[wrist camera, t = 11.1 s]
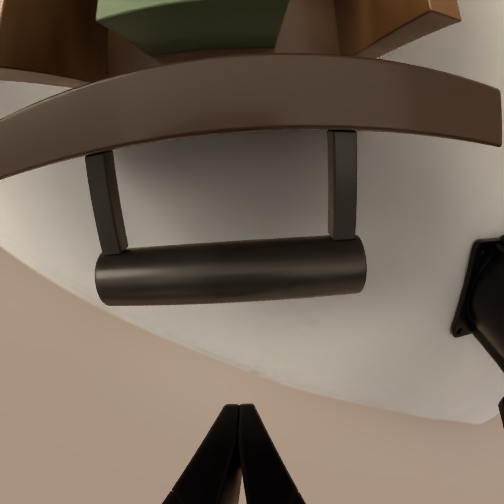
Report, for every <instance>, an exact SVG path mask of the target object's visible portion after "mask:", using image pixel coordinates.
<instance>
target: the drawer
mask: <svg viewBox="0 0 504 504" xmlns="http://www.w3.org/2000/svg"><path fill="white" fill-rule="evenodd" d="M97 3H98V0H0V80H1V81H16V82H28V83H38V84H47V85H55V86H62V87H69V88H73V89H70V90H67V91H64V92H62V93H59V94H56V95H54V96H51V97H49V98H46V99H44V100H41V101H39V102H36V103H34V104H32V105H29V106H27V107H25V108H23V109H21V110H18V111H16V112H14V113H12V114H10V115H8V116H6V117H4V118H2V119H0V180H1V179H4V178H7V177H10V176H14V175H17V174H20V173H23V172H26V171H30V170H33V169H36V168H40V167H43V166H47V165H51V164H54V163H58V162H62V161H66V160H70V159H74V158H78V157H82V156H85V162H86V170H87V177H88V183H89V189H90V195H91V201H92V206H93V211H94V216H95V221H96V226H97V231H98V235H99V240H100V244H101V248H102V253H101V254H100V255H99V257H98V259H97V262H96V267H95V284H96V289H97V292H98V295H99V297H100V299H101V300H102V302H103V303H105V304H106V305H109V306H142V305H186V304H213V303H234V302H253V301H269V300H284V299H297V298H310V297H322V296H333V295H344V294H354V293H359V292H361V291H362V290H363V288H364V285H365V281H366V273H367V264H366V255H365V250H364V246H363V243H362V241H361V239H360V237H359V236H358V235H356V234H355V231H356V207H357V132H356V131H373V132H390V133H403V134H414V135H423V136H432V137H441V138H448V139H455V140H462V141H468V142H474V143H480V144H486V145H491V146H496V147H500V146H501V145H502V112H501V95H500V90H499V89H497V88H494V87H491V86H489V85H486V84H483V83H480V82H477V81H474V80H470V79H467V78H464V77H460V76H457V75H453V74H450V73H446V72H442V71H438V70H434V69H429V68H425V67H420V66H416V65H411V64H405V63H400V62H394V61H388V60H381V59H376V58H378V57H380V56H382V55H384V54H386V53H388V52H390V51H392V50H394V49H396V48H398V47H400V46H403V45H405V44H407V43H409V42H412V41H414V40H416V39H418V38H421V37H423V36H425V35H428V34H430V33H432V32H435V31H437V30H440V29H442V28H445V27H447V26H450V25H453V24H455V23H458V22H461V16H460V11H459V7H458V3H457V0H290V2H289V5H288V8H287V11H286V14H285V17H284V20H283V23H282V27H281V30H280V33H279V36H278V39H277V42H276V45H275V47H273V48H265V47H254V48H223V49H208V50H196V51H187V52H178V53H171V54H164V55H157V56H149V55H148V54H146V53H145V52H143V51H142V50H140V49H139V48H137V47H136V46H134V45H133V44H131V43H130V42H128V41H127V40H125V39H124V38H122V37H121V36H119V35H117V34H116V33H114V32H113V31H111V30H109V29H108V28H106V27H105V26H103V25H101V24H100V23H98V22H96V11H97ZM283 130H328V131H327V142H328V233H329V235H325V236H308V237H290V238H274V239H257V240H242V241H226V242H211V243H196V244H182V245H168V246H154V247H140V248H127V247H128V241H127V236H126V231H125V226H124V221H123V216H122V210H121V204H120V198H119V192H118V185H117V179H116V172H115V164H114V156H113V151H112V150H115V149H120V148H125V147H131V146H136V145H142V144H148V143H155V142H161V141H168V140H175V139H183V138H191V137H199V136H209V135H219V134H230V133H244V132H260V131H283ZM126 248H127V249H126Z"/></svg>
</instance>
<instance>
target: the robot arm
mask: <svg viewBox="0 0 504 504" xmlns="http://www.w3.org/2000/svg"><path fill="white" fill-rule="evenodd" d="M479 248H480V250H479ZM450 332H451V334H452V335H453V336H454V337H461V336H464V335H468V334H473V335H474V336H475V338H476V339H477V340H478V341H479V342H480V344H481V345H482V346H483V347H484V348H485V350H486V351H487V352H488V353H489V355H490V356H491V357H492V358H493V359H494V361H495V362H496V363H497V365H498V366H499V367H500V368H501V370H502V371H503V372H504V235H502V236H501V237H500V238H492V239H479V240H476V241H475V242H474V244H473V246H472V250H471V255H470V260H469V264H468V269H467V273H466V277H465V282H464V285H463V289H462V293H461V297H460V300H459V304H458V307H457V311H456V314H455V317H454V320H453V324H452V327H451V330H450ZM498 407H499V411H500V414H501V418H502V422H503V427H504V397H503V398H502V399H501V401H500V402H499V404H498ZM242 476H243V483H244V489H245V495H246V501H247V504H306V503H305V502H304V500H303V498H302V496H301V494H300V493H299V492H298V489H297V488H296V486H295V484H294V482H293V480H292V478H291V476H290V475H289V473H288V471H287V469H286V467H285V465H284V464H283V461H282V460H281V458H280V456H279V454H278V452H277V450H276V448H275V446H274V444H273V442H272V440H271V438H270V436H269V434H268V432H267V430H266V428H265V426H264V424H263V422H262V420H261V418H260V416H259V414H258V412H257V410H256V408H255V406H254V405H253V404H241V405H240V406H239V405H238V404H227V405H225V406H224V407H223V409H222V411H221V412H220V414H219V416H218V417H217V419H216V421H215V422H214V424H213V426H212V427H211V429H210V430H209V432H208V434H207V435H206V437H205V439H204V440H203V442H202V444H201V445H200V447H199V448H198V450H197V451H196V453H195V455H194V456H193V458H192V459H191V461H190V462H189V464H188V466H187V467H186V469H185V470H184V472H183V474H182V475H181V476H180V478H179V479H178V481H177V482H176V484H175V485H174V487H173V488H172V491H173V492H172V491H170V493H169V494H168V496H167V497H166V499H165V500H164V502H163V503H162V504H238V502H239V494H240V486H241V478H242Z"/></svg>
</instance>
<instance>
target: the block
mask: <svg viewBox="0 0 504 504" xmlns="http://www.w3.org/2000/svg"><path fill="white" fill-rule="evenodd" d="M289 2H290V0H98V3H97V11H96V22H98V23H100V24H101V25H103V26H105V27H106V28H108V29H109V30H111V31H113V32H114V33H116V34H117V35H119V36H121V37H122V38H124V39H125V40H127V41H128V42H130V43H131V44H133V45H134V46H136V47H137V48H139V49H140V50H142V51H143V52H145V53H146V54H148V55H149V56H157V55H164V54H171V53H178V52H187V51H196V50H208V49H223V48H254V47H265V48H273V47H275V45H276V42H277V39H278V36H279V33H280V30H281V27H282V23H283V20H284V17H285V14H286V11H287V8H288V5H289Z"/></svg>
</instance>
